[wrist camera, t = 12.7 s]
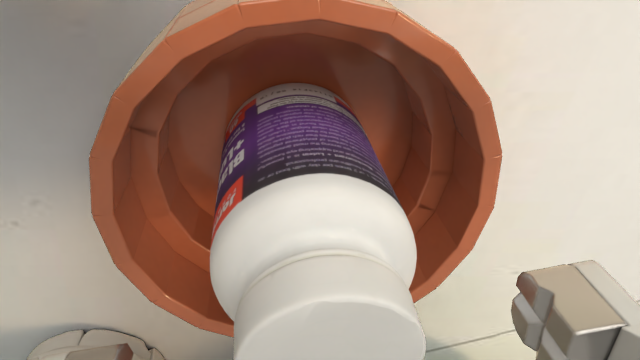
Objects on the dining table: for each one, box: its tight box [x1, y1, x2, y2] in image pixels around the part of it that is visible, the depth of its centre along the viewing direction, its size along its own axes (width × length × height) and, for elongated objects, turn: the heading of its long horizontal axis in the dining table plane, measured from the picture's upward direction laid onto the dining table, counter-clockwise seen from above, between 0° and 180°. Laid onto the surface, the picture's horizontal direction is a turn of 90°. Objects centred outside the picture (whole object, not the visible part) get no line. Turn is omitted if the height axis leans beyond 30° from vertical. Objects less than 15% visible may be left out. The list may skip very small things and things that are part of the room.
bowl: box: [89, 0, 502, 337], centre depth 15 cm, size 12×12×5 cm
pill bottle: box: [210, 83, 426, 360], centre depth 13 cm, size 5×5×10 cm
